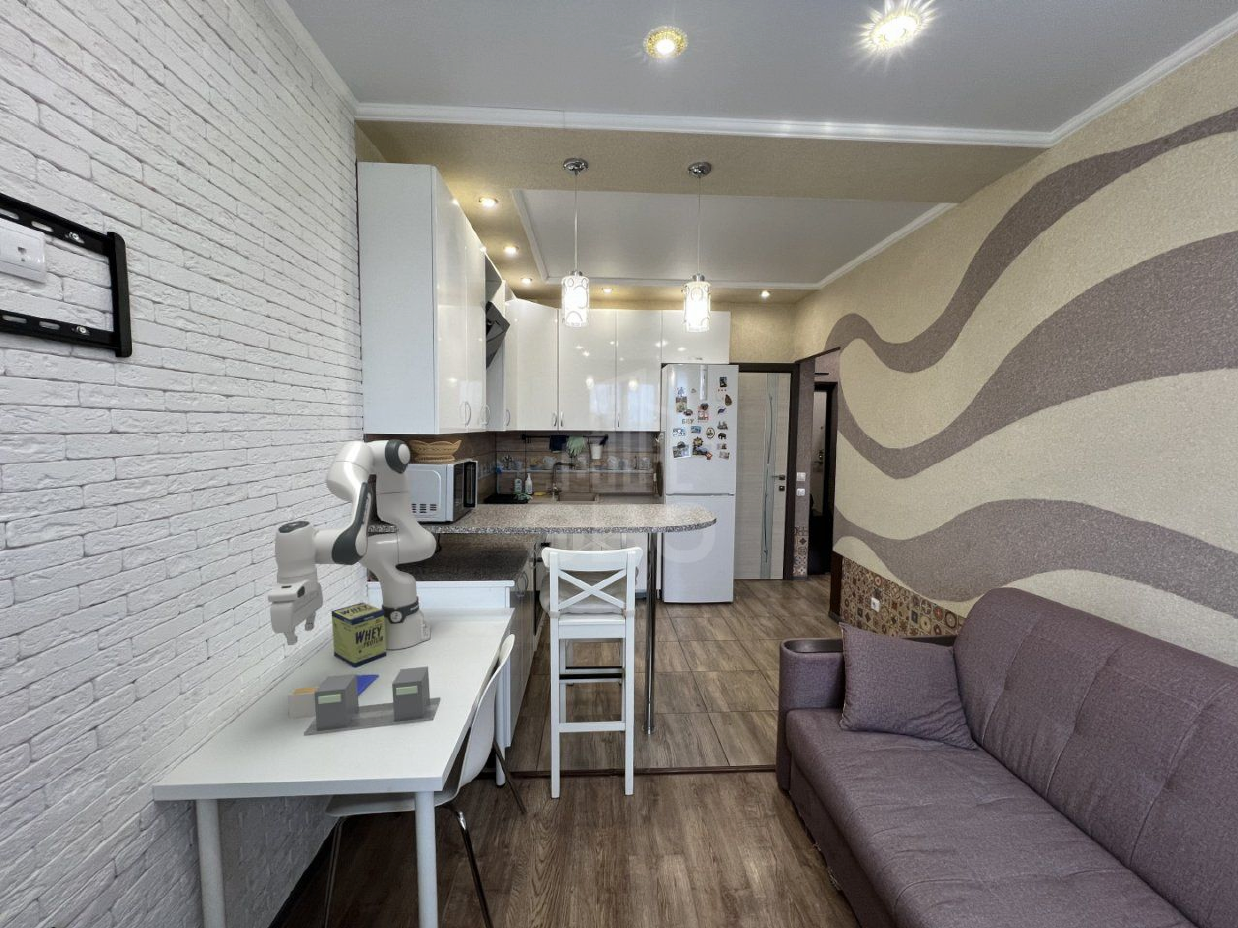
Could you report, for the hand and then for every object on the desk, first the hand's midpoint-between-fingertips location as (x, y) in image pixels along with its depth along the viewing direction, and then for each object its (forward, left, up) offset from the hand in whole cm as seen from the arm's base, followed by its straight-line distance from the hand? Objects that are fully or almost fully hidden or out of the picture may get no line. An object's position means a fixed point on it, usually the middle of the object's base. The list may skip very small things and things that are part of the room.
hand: (301, 636), depth 128 cm
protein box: (-34, +2, -21) cm, 40 cm away
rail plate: (+6, +19, -21) cm, 29 cm away
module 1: (+6, +10, -21) cm, 24 cm away
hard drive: (-11, +8, -21) cm, 25 cm away
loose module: (0, 0, -21) cm, 21 cm away
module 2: (+6, +28, -21) cm, 35 cm away
